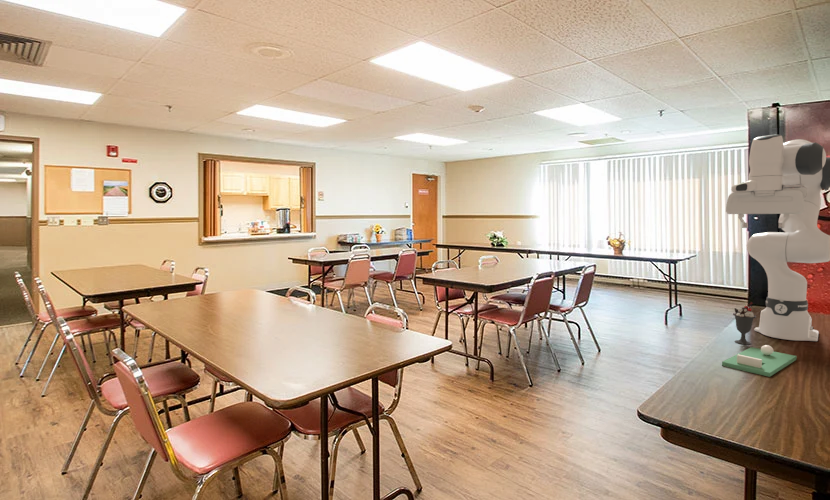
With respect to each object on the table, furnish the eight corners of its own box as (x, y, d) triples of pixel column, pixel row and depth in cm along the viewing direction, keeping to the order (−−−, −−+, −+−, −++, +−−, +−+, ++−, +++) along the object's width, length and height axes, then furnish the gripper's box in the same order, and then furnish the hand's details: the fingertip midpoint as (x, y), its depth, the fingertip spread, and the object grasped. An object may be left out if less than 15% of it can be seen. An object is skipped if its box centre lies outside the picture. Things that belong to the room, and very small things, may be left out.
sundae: (758, 345, 156) (760, 303, 154) (737, 345, 157) (739, 303, 156) (748, 340, 162) (750, 300, 161) (728, 339, 163) (730, 299, 162)
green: (751, 350, 151) (751, 340, 151) (796, 359, 141) (797, 348, 141) (722, 365, 137) (722, 354, 137) (769, 376, 127) (770, 364, 127)
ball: (762, 352, 145) (763, 343, 144) (774, 355, 142) (775, 345, 142) (758, 354, 143) (759, 345, 143) (771, 357, 140) (771, 347, 140)
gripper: (807, 184, 140) (804, 228, 141) (728, 187, 153) (726, 227, 154) (807, 183, 135) (805, 228, 136) (726, 186, 148) (724, 228, 150)
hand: (762, 228), depth 145 cm, fingers open, 8 cm apart
